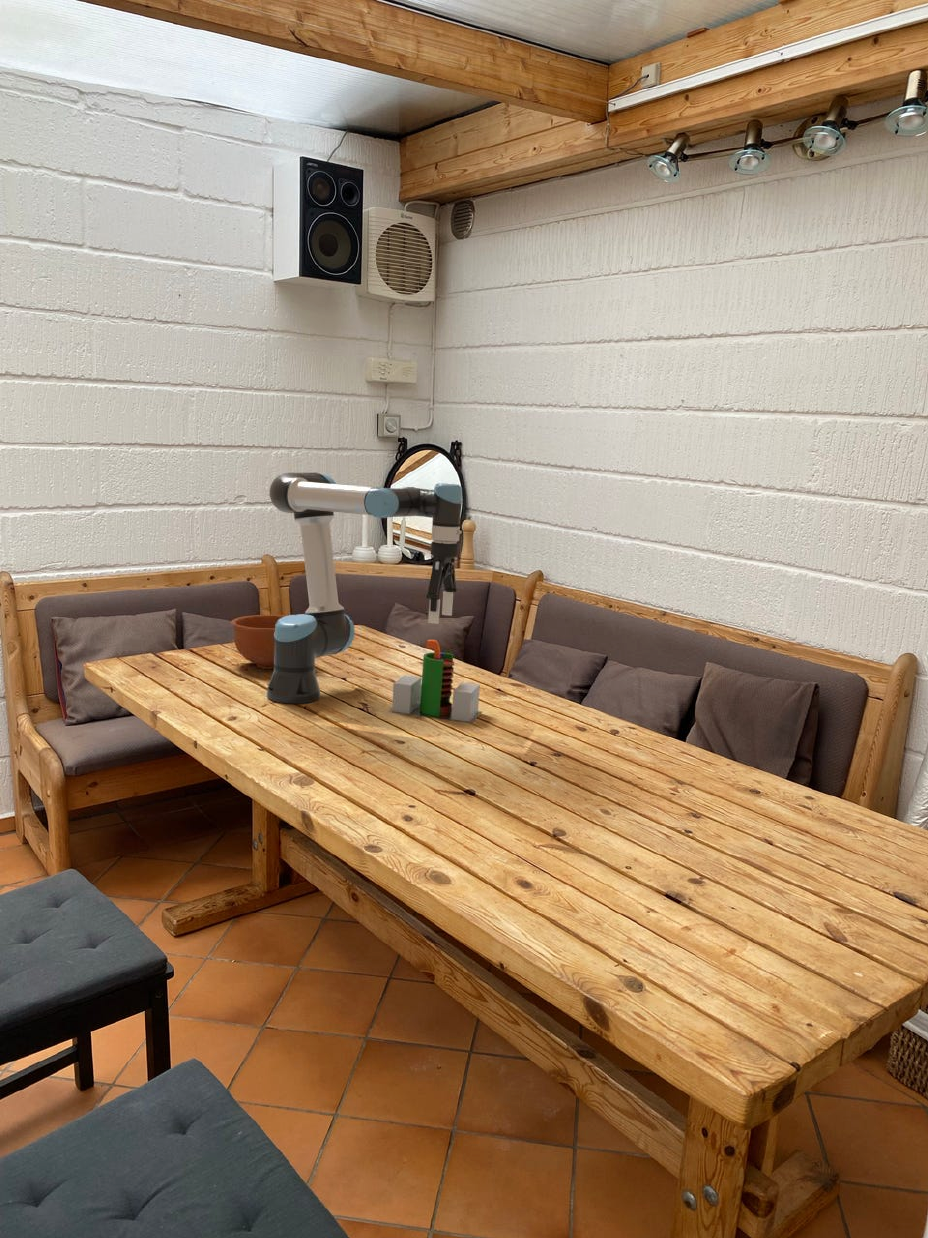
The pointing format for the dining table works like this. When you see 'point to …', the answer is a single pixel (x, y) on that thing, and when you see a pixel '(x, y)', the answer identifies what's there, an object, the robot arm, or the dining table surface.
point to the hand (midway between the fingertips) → (440, 619)
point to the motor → (436, 681)
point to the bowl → (256, 638)
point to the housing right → (465, 701)
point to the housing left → (406, 694)
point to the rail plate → (446, 717)
